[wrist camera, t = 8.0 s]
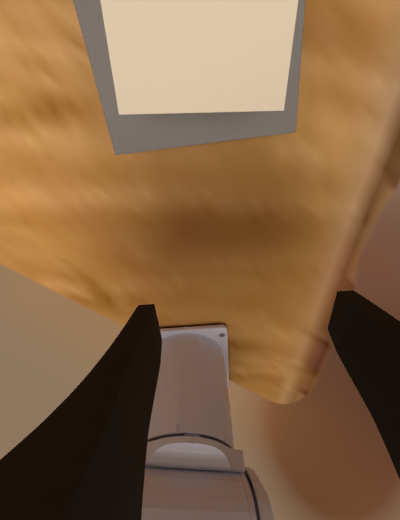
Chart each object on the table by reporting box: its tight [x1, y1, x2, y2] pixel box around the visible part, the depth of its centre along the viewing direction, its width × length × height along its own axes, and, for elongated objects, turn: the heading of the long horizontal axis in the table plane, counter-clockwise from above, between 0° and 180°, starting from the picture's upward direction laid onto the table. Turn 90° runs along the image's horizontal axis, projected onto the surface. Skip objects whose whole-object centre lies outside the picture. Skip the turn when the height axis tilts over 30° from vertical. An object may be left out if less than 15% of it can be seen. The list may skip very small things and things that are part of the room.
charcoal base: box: [73, 0, 305, 155], centre depth 12 cm, size 9×9×4 cm
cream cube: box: [100, 0, 298, 115], centre depth 9 cm, size 5×5×5 cm
